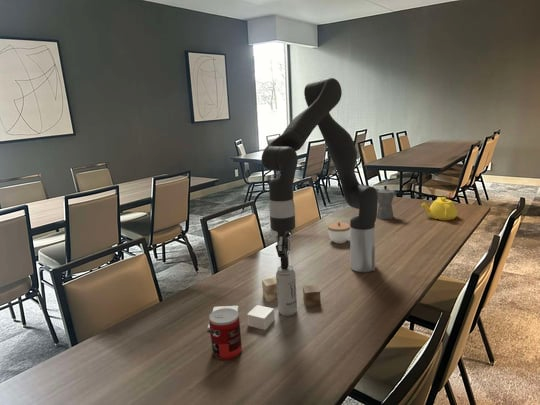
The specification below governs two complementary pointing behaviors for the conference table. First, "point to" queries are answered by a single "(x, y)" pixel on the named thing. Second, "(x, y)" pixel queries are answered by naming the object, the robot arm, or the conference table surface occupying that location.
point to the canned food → (225, 333)
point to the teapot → (441, 209)
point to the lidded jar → (339, 232)
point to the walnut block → (311, 295)
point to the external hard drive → (222, 308)
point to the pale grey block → (260, 317)
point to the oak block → (269, 289)
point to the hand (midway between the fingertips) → (285, 267)
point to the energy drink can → (286, 291)
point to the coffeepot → (385, 203)
